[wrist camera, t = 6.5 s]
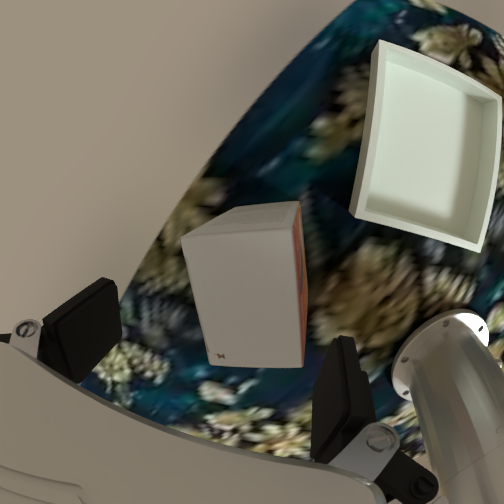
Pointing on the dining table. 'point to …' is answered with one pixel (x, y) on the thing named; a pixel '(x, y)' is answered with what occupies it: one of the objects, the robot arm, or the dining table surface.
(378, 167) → the tray
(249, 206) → the small box
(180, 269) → the dining table surface
